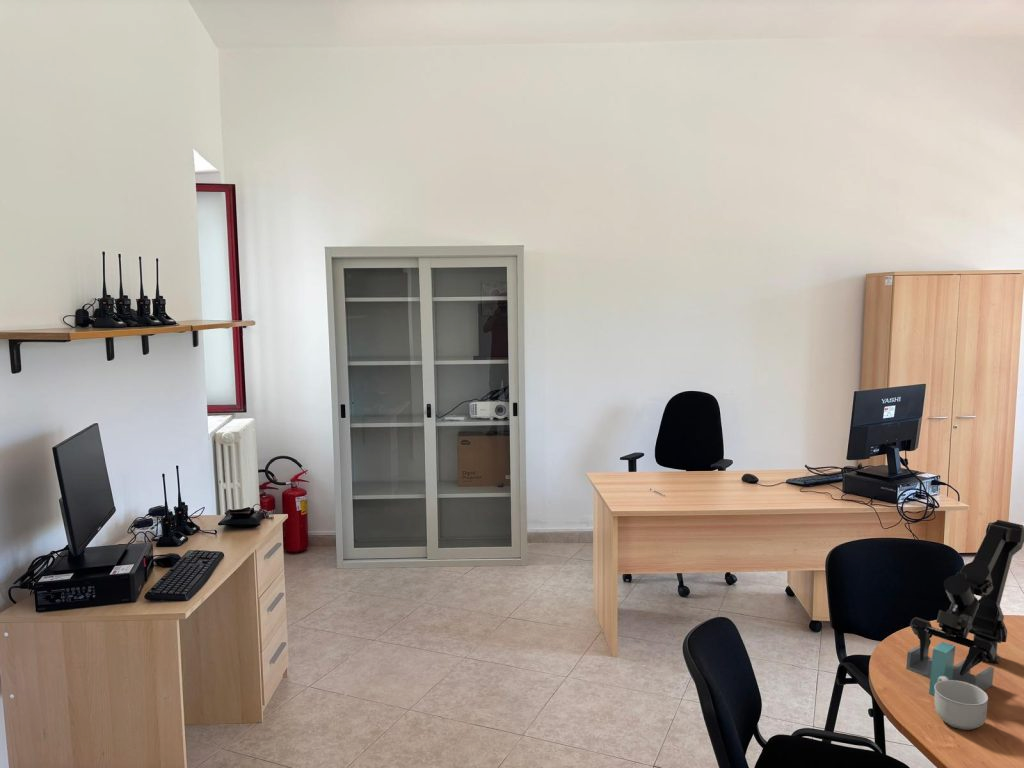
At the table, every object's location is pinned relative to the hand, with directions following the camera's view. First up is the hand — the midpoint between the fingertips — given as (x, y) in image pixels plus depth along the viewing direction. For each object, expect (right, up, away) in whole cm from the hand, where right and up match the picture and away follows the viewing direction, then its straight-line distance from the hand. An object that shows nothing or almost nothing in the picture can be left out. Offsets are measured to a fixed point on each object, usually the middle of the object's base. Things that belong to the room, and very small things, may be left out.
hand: (940, 667), depth 186 cm
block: (+1, -7, +2) cm, 7 cm away
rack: (+7, -6, +9) cm, 13 cm away
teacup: (-2, -8, -10) cm, 13 cm away
